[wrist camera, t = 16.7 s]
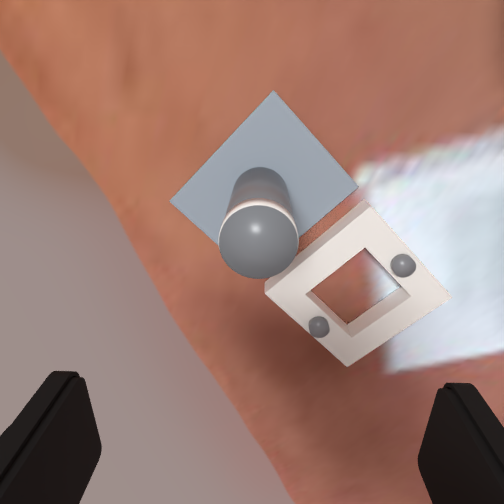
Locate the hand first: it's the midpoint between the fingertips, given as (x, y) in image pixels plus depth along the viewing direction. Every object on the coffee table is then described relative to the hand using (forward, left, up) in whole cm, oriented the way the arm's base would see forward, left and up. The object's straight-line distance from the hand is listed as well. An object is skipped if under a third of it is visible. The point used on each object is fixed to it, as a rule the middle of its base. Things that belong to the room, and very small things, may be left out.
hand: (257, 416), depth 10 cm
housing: (-12, 0, -22) cm, 25 cm away
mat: (0, 0, -22) cm, 22 cm away
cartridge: (0, 0, -22) cm, 22 cm away
